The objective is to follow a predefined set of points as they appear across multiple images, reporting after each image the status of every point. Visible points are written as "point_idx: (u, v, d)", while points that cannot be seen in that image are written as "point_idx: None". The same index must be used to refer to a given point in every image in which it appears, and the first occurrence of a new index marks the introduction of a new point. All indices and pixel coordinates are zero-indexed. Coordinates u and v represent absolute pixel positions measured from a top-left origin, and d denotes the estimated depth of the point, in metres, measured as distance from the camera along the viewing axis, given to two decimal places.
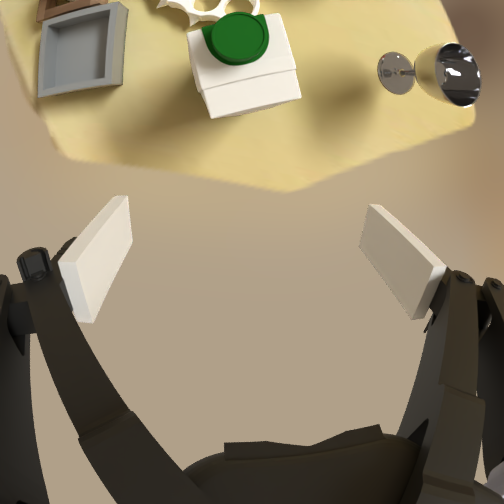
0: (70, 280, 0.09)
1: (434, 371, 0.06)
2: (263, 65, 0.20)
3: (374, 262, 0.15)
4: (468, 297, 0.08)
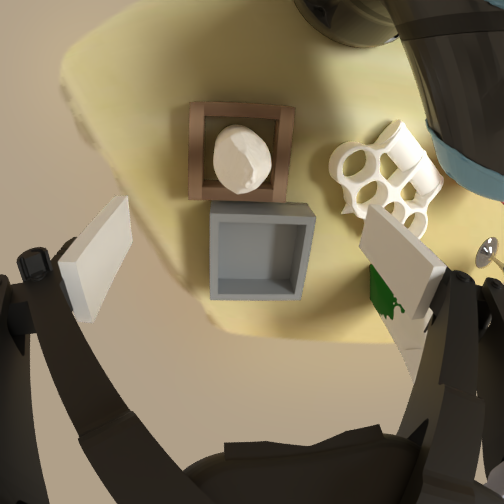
0: (70, 280, 0.09)
1: (434, 371, 0.06)
2: None
3: (374, 262, 0.15)
4: (468, 297, 0.08)
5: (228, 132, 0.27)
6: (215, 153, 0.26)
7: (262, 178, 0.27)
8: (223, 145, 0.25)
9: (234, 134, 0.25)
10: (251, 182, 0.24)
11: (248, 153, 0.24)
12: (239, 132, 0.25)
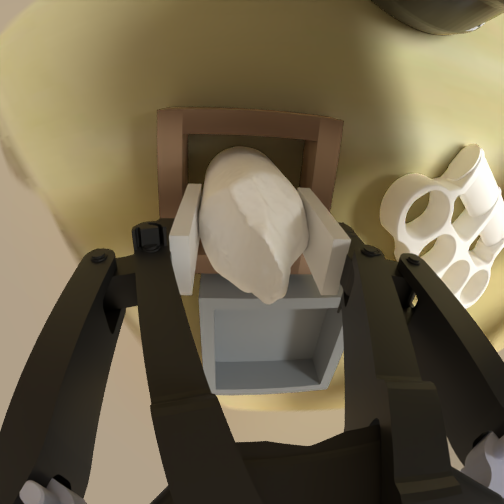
0: (178, 253, 0.11)
1: (366, 361, 0.07)
2: None
3: None
4: (380, 271, 0.10)
5: (226, 169, 0.14)
6: (201, 215, 0.14)
7: (292, 264, 0.14)
8: (216, 203, 0.13)
9: (239, 182, 0.12)
10: (276, 296, 0.11)
11: (270, 231, 0.11)
12: (249, 176, 0.12)
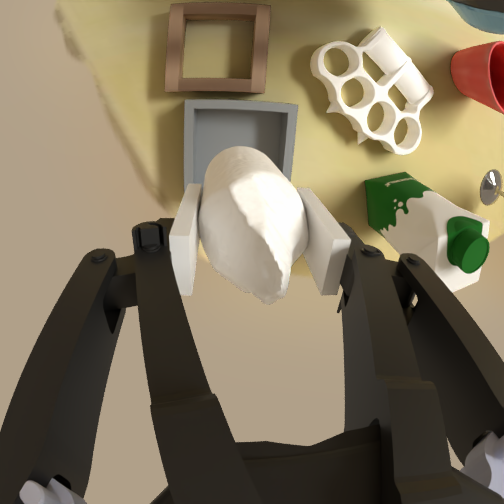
0: (179, 253, 0.11)
1: (366, 361, 0.07)
2: None
3: None
4: (379, 271, 0.10)
5: (226, 169, 0.14)
6: (201, 215, 0.14)
7: (292, 264, 0.14)
8: (216, 203, 0.13)
9: (238, 182, 0.12)
10: (276, 297, 0.11)
11: (270, 231, 0.11)
12: (249, 175, 0.12)
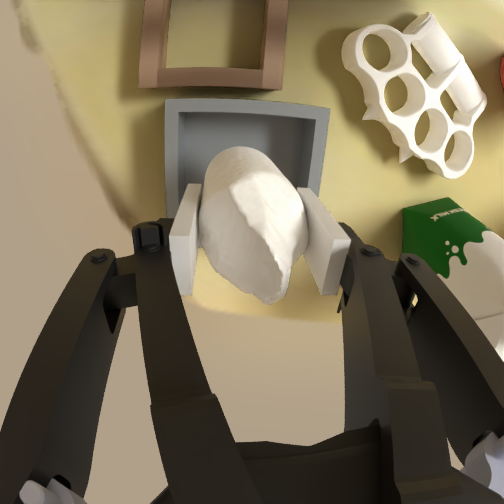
0: (179, 253, 0.11)
1: (366, 361, 0.07)
2: None
3: None
4: (379, 271, 0.10)
5: (226, 169, 0.14)
6: (201, 215, 0.14)
7: None
8: (216, 203, 0.13)
9: (239, 182, 0.12)
10: (277, 297, 0.11)
11: (270, 231, 0.11)
12: (249, 176, 0.12)
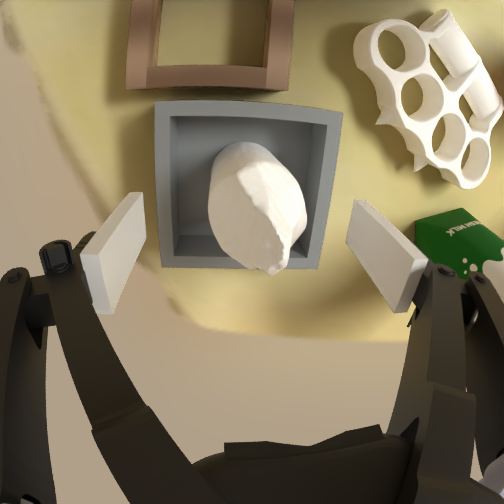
0: (92, 272, 0.09)
1: (421, 367, 0.07)
2: None
3: (359, 257, 0.15)
4: (451, 290, 0.09)
5: (232, 160, 0.16)
6: (211, 200, 0.16)
7: (292, 243, 0.16)
8: (225, 189, 0.15)
9: (244, 169, 0.14)
10: (279, 267, 0.13)
11: (272, 210, 0.13)
12: (253, 164, 0.14)
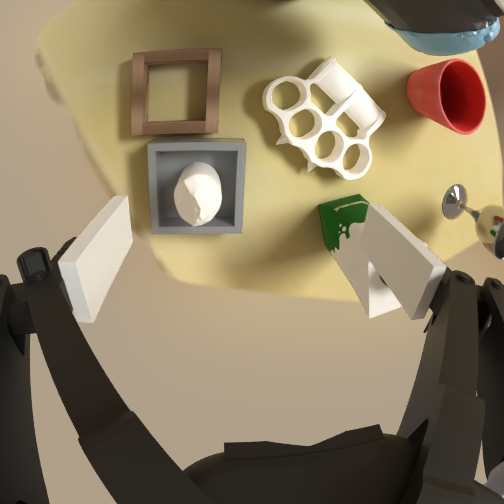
0: (70, 280, 0.09)
1: (434, 371, 0.06)
2: None
3: (374, 262, 0.15)
4: (468, 297, 0.08)
5: (185, 173, 0.33)
6: (174, 193, 0.32)
7: (213, 212, 0.33)
8: (180, 187, 0.31)
9: (187, 178, 0.30)
10: (200, 219, 0.30)
11: (197, 194, 0.30)
12: (192, 175, 0.31)
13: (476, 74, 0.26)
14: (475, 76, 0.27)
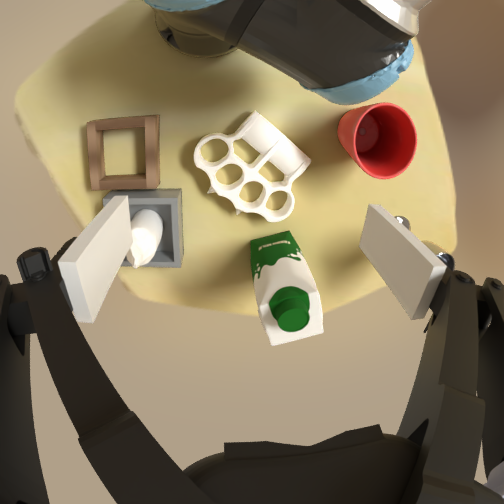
0: (70, 280, 0.09)
1: (434, 371, 0.06)
2: None
3: (374, 262, 0.15)
4: (468, 296, 0.08)
5: None
6: None
7: (149, 257, 0.41)
8: None
9: None
10: (135, 266, 0.38)
11: (133, 247, 0.38)
12: (131, 230, 0.39)
13: (406, 115, 0.34)
14: (405, 117, 0.34)
